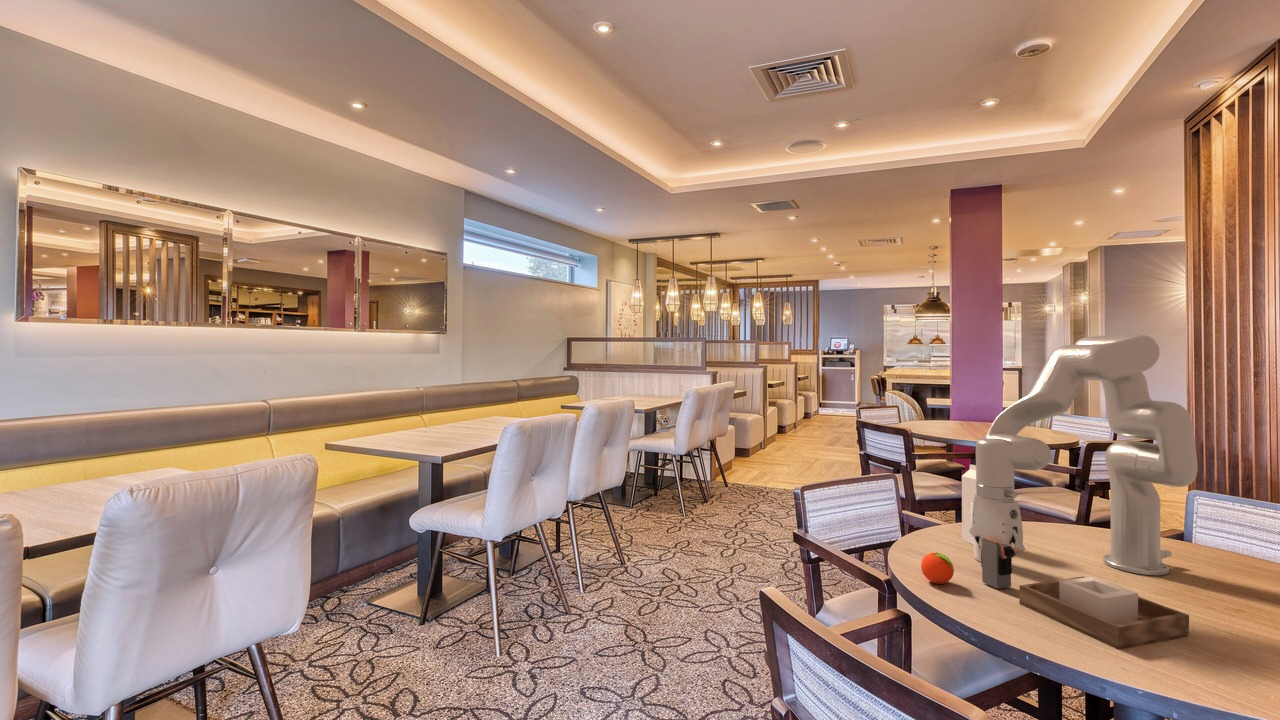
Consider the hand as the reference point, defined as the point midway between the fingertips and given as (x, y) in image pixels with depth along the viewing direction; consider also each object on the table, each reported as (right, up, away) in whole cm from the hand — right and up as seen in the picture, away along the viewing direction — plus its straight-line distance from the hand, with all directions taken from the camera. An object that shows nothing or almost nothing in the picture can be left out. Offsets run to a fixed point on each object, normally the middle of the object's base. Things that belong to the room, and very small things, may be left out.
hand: (996, 569), depth 133 cm
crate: (+10, -4, -17) cm, 20 cm away
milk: (+14, -4, +31) cm, 34 cm away
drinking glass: (+8, -4, +17) cm, 19 cm away
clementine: (-12, -4, +2) cm, 13 cm away
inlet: (+11, -4, -16) cm, 20 cm away
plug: (0, -3, 0) cm, 3 cm away
